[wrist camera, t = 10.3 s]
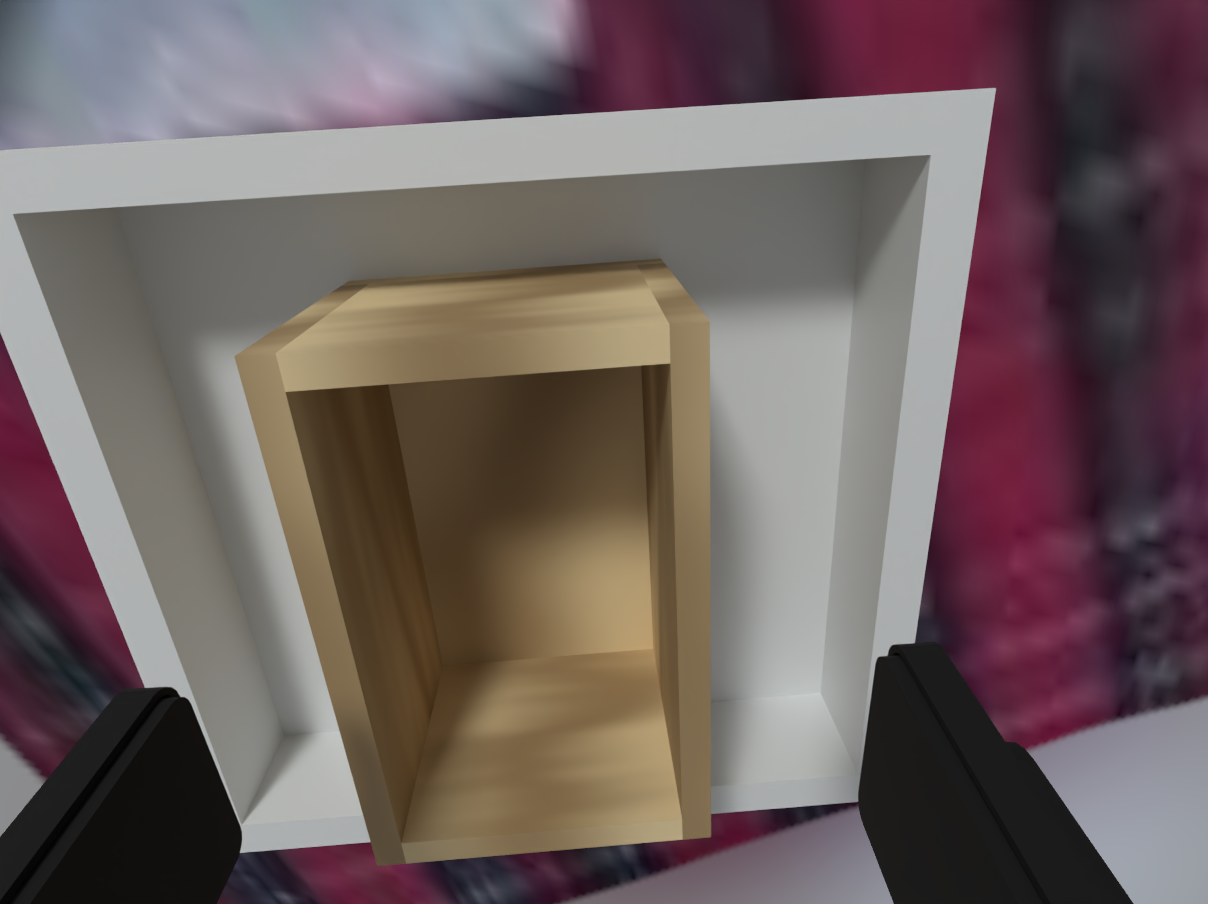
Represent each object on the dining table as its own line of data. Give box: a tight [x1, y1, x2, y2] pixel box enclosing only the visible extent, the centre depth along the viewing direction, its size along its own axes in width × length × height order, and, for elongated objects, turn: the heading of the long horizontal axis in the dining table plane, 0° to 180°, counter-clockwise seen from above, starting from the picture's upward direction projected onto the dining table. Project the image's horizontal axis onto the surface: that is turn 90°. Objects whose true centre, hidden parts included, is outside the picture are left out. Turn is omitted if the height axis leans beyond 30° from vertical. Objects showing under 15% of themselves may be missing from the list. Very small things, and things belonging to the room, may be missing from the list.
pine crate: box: [234, 259, 711, 866], centre depth 15 cm, size 7×11×6 cm, turn 4°
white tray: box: [0, 88, 996, 853], centre depth 17 cm, size 18×17×4 cm
